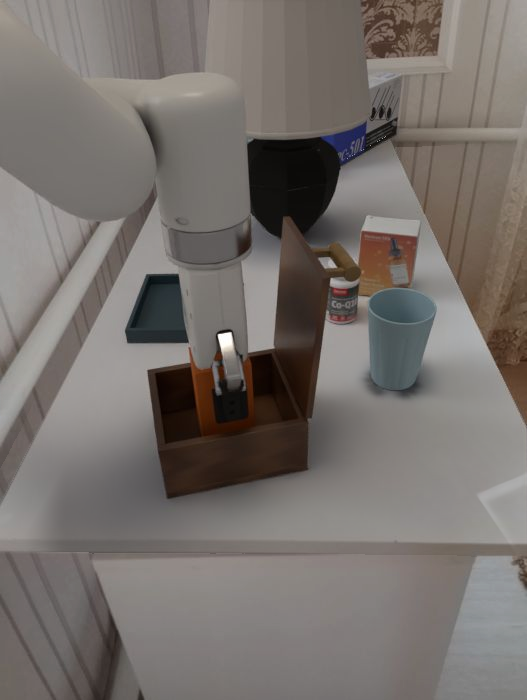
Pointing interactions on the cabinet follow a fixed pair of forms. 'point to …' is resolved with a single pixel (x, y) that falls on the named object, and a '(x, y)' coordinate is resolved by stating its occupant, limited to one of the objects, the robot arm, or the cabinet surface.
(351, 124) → the table lamp
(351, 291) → the pill bottle
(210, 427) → the block
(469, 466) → the cabinet surface
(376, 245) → the small box
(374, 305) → the cup
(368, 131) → the ink box
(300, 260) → the lid
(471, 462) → the cabinet surface
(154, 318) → the tray
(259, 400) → the chest
